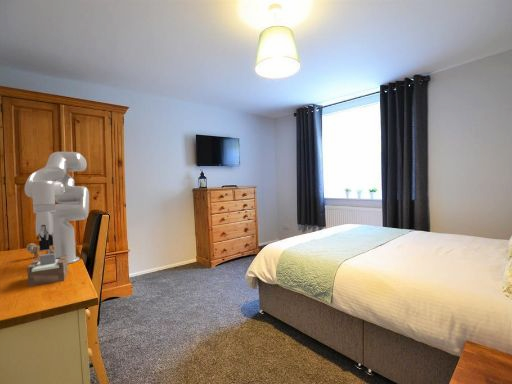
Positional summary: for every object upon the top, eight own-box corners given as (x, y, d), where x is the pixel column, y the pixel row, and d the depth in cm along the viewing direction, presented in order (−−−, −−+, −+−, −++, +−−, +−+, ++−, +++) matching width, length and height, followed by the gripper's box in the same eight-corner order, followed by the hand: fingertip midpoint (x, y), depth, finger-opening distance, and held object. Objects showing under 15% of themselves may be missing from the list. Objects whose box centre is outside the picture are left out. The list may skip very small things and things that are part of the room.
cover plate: (38, 263, 120) (37, 253, 120) (63, 260, 125) (62, 249, 125) (31, 271, 109) (30, 259, 109) (59, 267, 114) (58, 256, 113)
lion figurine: (29, 260, 149) (28, 244, 149) (25, 259, 151) (24, 243, 151) (59, 253, 162) (58, 239, 161) (54, 252, 164) (53, 238, 164)
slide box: (35, 276, 121) (34, 259, 121) (67, 271, 127) (66, 255, 127) (28, 286, 109) (27, 267, 108) (64, 280, 115) (63, 262, 114)
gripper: (37, 208, 121) (39, 245, 122) (28, 210, 106) (31, 252, 107) (58, 207, 125) (60, 243, 125) (52, 209, 110) (54, 250, 110)
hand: (46, 247), depth 116 cm, fingers open, 9 cm apart
